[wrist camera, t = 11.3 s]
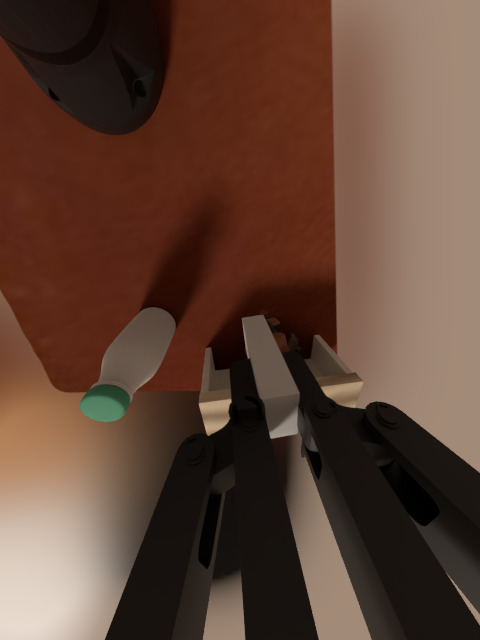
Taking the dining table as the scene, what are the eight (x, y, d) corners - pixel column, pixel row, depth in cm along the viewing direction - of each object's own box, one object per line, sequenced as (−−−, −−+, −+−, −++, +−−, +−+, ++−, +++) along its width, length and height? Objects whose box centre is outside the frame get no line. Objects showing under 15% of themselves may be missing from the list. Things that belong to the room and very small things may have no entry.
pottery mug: (286, 308, 40) (310, 339, 35) (280, 332, 47) (298, 359, 43) (235, 328, 37) (253, 363, 33) (237, 349, 45) (252, 380, 40)
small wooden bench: (205, 346, 41) (198, 403, 28) (318, 332, 43) (363, 381, 30) (211, 375, 46) (207, 437, 32) (314, 362, 47) (351, 416, 34)
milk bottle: (138, 301, 35) (56, 379, 18) (179, 311, 37) (142, 390, 19) (135, 335, 38) (64, 428, 21) (173, 342, 40) (137, 434, 22)
